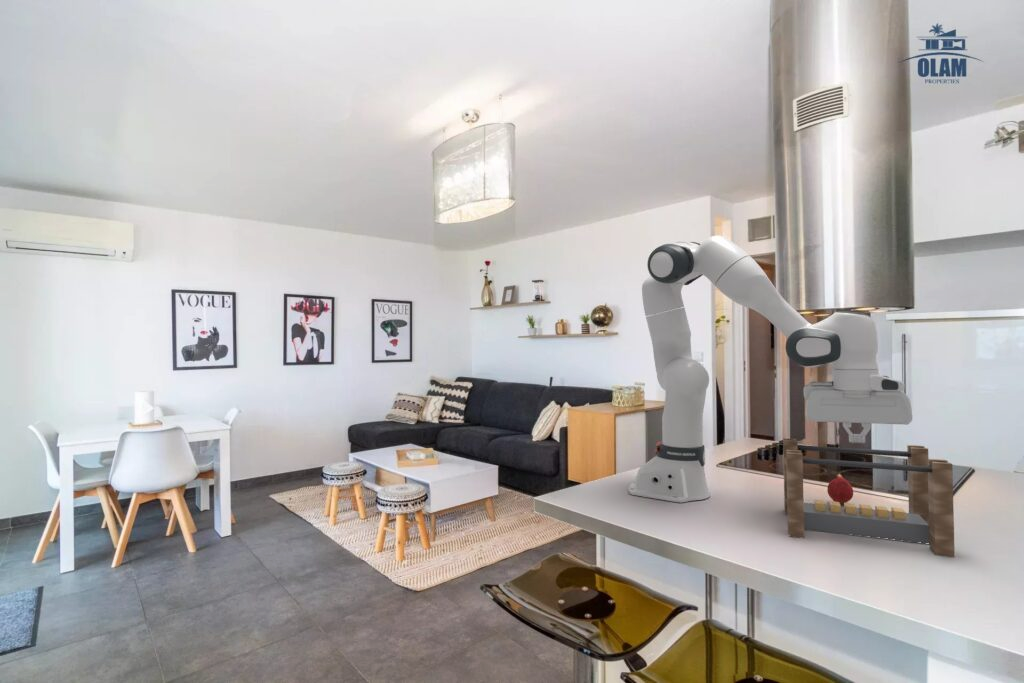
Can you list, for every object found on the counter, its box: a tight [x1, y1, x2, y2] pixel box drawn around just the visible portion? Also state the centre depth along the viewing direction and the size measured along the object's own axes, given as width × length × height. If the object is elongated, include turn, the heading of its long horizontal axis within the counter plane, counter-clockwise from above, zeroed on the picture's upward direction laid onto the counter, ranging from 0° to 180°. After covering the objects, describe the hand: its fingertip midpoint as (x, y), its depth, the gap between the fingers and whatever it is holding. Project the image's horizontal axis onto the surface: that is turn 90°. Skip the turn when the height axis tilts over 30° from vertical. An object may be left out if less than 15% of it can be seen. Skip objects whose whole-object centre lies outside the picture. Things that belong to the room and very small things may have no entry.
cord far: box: [797, 444, 911, 458], centre depth 125 cm, size 28×1×1 cm, turn 65°
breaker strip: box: [804, 499, 930, 545], centre depth 118 cm, size 24×8×6 cm, turn 65°
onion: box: [826, 473, 854, 506], centre depth 136 cm, size 6×6×8 cm
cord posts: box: [782, 437, 955, 558], centre depth 118 cm, size 29×20×18 cm
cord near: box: [803, 457, 932, 473], centre depth 110 cm, size 28×1×1 cm, turn 65°
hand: (857, 442), depth 118 cm, fingers closed
